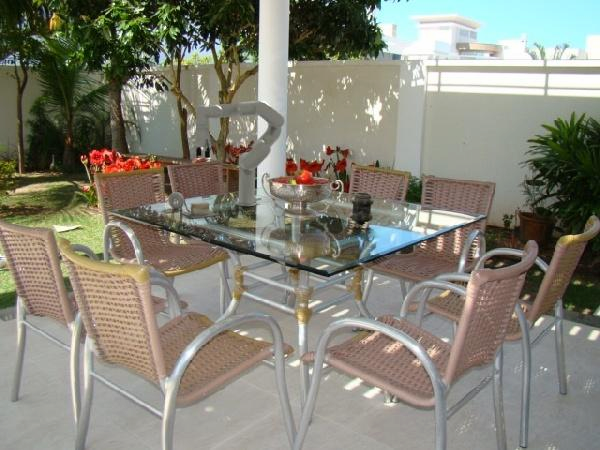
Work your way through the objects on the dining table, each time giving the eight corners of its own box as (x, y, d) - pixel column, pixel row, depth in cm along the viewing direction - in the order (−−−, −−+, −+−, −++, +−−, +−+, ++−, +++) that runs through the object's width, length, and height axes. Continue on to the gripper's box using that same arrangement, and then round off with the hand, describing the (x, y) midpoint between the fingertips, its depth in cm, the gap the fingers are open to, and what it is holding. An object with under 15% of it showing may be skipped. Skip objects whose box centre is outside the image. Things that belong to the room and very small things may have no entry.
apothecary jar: (374, 225, 299) (376, 192, 295) (369, 230, 288) (371, 196, 284) (352, 223, 303) (354, 190, 299) (346, 227, 292) (348, 194, 288)
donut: (185, 209, 319) (185, 192, 316) (182, 210, 316) (181, 193, 313) (170, 207, 322) (170, 190, 320) (167, 208, 319) (167, 191, 317)
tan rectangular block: (190, 213, 306) (190, 203, 305) (205, 212, 312) (205, 201, 310) (194, 215, 303) (194, 204, 302) (209, 213, 308) (209, 203, 307)
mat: (206, 210, 318) (206, 209, 318) (219, 215, 307) (219, 214, 307) (181, 213, 308) (181, 212, 308) (192, 219, 297) (192, 217, 297)
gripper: (189, 126, 326) (190, 155, 330) (204, 128, 313) (205, 158, 317) (200, 126, 331) (201, 154, 335) (216, 128, 318) (216, 158, 322)
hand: (203, 156), depth 326 cm, fingers open, 9 cm apart
